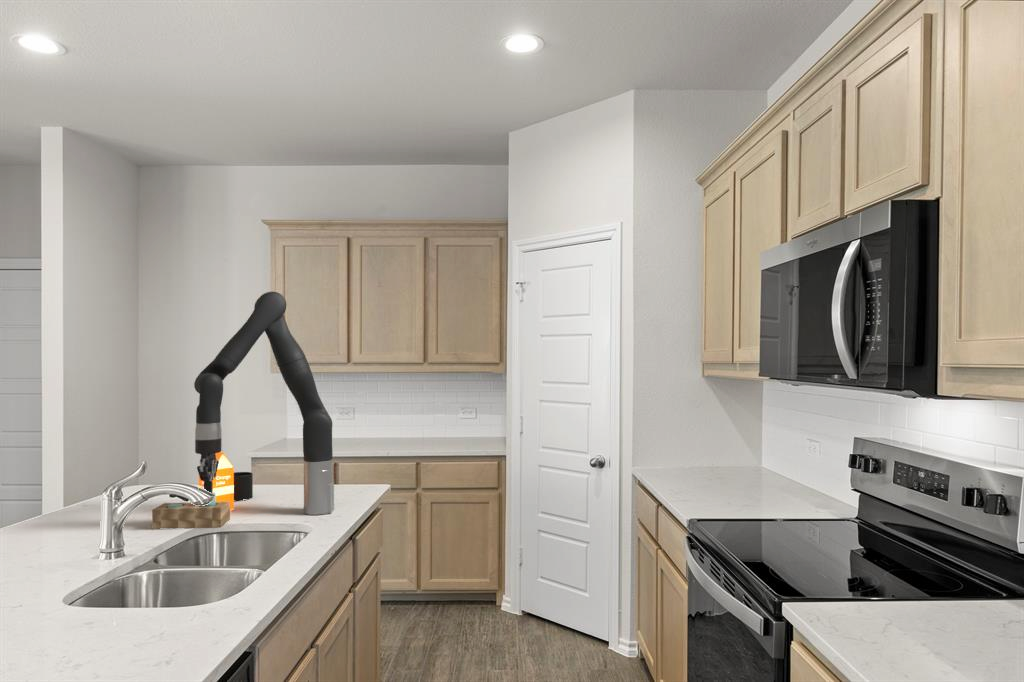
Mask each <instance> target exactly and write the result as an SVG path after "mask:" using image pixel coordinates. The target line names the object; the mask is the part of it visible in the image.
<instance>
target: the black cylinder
mask: <svg viewBox="0 0 1024 682" xmlns="http://www.w3.org/2000/svg"><path fill="white" fill-rule="evenodd" d="M253 481H254V480H253V472H250V471H236V472H234V500H243V499H249V498H251V499H253V497H254V496H253V494H254V493H253V492H254V491H253V490H254V489H253V487H254V486H253V485H254V483H253ZM249 500H250V499H249Z"/></svg>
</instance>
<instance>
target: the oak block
mask: <svg viewBox="0 0 1024 682" xmlns="http://www.w3.org/2000/svg"><path fill="white" fill-rule="evenodd" d="M171 504H182V507H175V508H168V505H171ZM151 517H152V520H151V522H152V523H151V525H152V527H151V529H152V530H161V529H160V528H184V529H208V528H209V529H210V528H213V529H214V528H222V527H223V526H225V525H226V524H227V523H228V522H227V521H229V520H230V521H231V511H230V501H226V502H216V506H209V507H202V506H195V505H193V504H191V502H164V503H162V504H160V505H158V506H156V507H155V508H152V510H151ZM230 521H229V522H230ZM226 522H227V523H226ZM225 523H226V524H225ZM224 524H225V525H224ZM200 527H201V528H200Z"/></svg>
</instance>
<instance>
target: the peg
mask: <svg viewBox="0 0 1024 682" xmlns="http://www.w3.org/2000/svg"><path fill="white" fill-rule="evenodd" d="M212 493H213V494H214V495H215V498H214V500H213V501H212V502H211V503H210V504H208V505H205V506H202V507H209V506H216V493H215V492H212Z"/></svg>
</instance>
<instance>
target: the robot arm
mask: <svg viewBox="0 0 1024 682" xmlns="http://www.w3.org/2000/svg"><path fill="white" fill-rule="evenodd" d="M253 307H254V309H253V311H252V312H251V314H250V316H249V317H248V319H247V320H246V321H245V323H244V324H243V325H242V327H240V328H239V329H238V330H237V332H236V333H235V334H234V335H233V336H231V338H230V339H229V340H228V341H227V342H226V344H225V345H224V346H223V347H222V349H221V350H220V351H218V354H216V356H215V358H213V360H212V361H211V362H210V363H208V365H207V366H206V367H205V368H204V369H202V371H201V372H200V373H198V375H197V377H196V378H195V380H194V383H193V387H194V389H195V391H196V393H198V394H199V400H198V403H199V404H198V405H197V407H196V411H195V412H196V413H195V422H196V424H195V429H194V430H195V432H194V433H195V434H194V435H195V437H194V438H195V441H194V446H195V447H194V448H195V449H194V452H195V453H196V454H197V455H201V456H200V459H199V465H198V466H197V467H196V469H197V473H198V477H199V476H200V479H201V481H203V482H204V489H206V490H207V491H209V492H211V493H212V492H213V480H214V478H215V477H216V473H217V469H218V464H219V460H217V458H216V453H219V452H222V435H223V433H222V425H221V424H222V422H221V417H222V415H221V413H222V411H221V407H222V402H223V395H224V394H223V393H224V382H223V381H224V380H225V379H226V378H227V377H228V376H229V374H232V373H233V372H234V371H235V370H236V369H237V368H238V367H239V365H240V364H241V363H242V362H243V360H245V358H246V356H247V355H248V354H249V352H250V351H251V349H252V348H253V346H255V344H256V343H257V341H258V340H259V338H260V337H261V336H262V335H263V334H264V333H265V334H266V336H267V338H268V341H269V344H270V348H271V350H272V353H273V355H274V359H275V361H276V365H277V367H278V369H279V371H280V374H281V376H282V379H283V381H284V382H285V385H286V386H287V389H288V390H289V391H290V393H291V394H292V396H293V398H294V399H295V401H296V403H297V405H298V407H299V410H300V414H301V417H302V421H303V423H302V453H303V454H302V455H303V513H304V514H305V515H309V516H311V515H312V516H313V515H314V516H315V515H316V516H317V515H318V516H319V515H327V514H332V513H333V512H334V510H335V482H334V480H333V478H334V477H333V475H334V474H333V470H334V469H333V420H332V417H331V416H330V414H329V413H328V411H327V409H326V407H325V405H324V404H323V401H322V400H321V397H320V395H319V392H318V389H317V385H316V381H315V379H314V376H313V373H312V370H311V366H310V365H309V364H310V363H309V361H308V359H307V357H306V354H305V352H304V351H303V349H302V347H301V346H300V344H299V343H298V342H297V341H296V339H295V337H294V336H293V335H292V333H291V331H290V330H289V326H288V324H287V321H286V318H285V313H286V310H287V300H286V299H285V297H284V295H282V294H281V293H279V292H277V291H266V292H264V293H263V294H260V296H259V297H258V298H257V299H256V300H255V303H254V306H253Z"/></svg>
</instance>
